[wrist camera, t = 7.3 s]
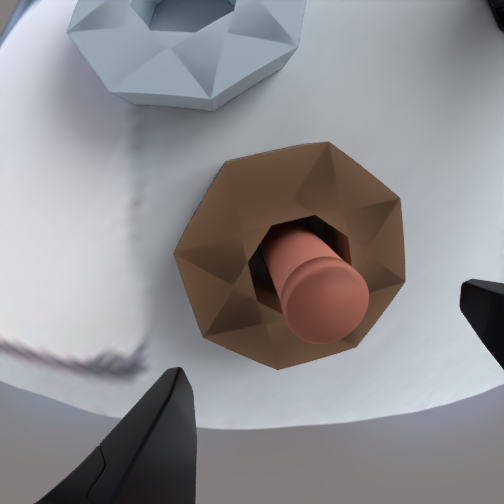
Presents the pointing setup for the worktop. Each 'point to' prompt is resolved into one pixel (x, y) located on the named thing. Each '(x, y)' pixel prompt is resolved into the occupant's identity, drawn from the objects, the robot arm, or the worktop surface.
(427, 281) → the worktop surface
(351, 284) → the pink rounded cylinder
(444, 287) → the worktop surface
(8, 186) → the worktop surface
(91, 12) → the blue bead
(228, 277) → the walnut bead
